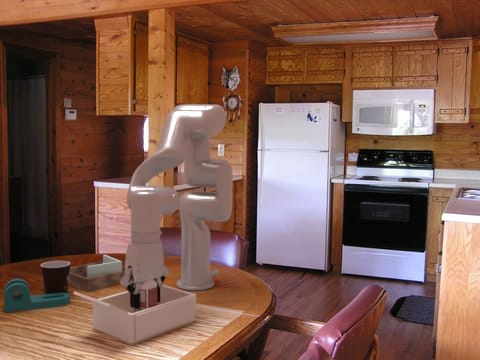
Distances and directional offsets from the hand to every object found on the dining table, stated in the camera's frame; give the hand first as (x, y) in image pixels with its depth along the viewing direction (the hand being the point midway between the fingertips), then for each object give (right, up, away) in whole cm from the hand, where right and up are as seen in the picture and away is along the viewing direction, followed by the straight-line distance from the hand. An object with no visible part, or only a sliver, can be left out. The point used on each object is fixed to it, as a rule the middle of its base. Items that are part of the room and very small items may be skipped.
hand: (145, 304), depth 139 cm
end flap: (-7, +1, -9) cm, 11 cm away
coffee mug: (-31, -3, +25) cm, 40 cm away
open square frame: (-24, -2, +40) cm, 47 cm away
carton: (0, -6, 0) cm, 6 cm away
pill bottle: (0, -3, 0) cm, 3 cm away
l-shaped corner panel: (-23, -2, +40) cm, 46 cm away
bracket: (-34, -4, +15) cm, 37 cm away
